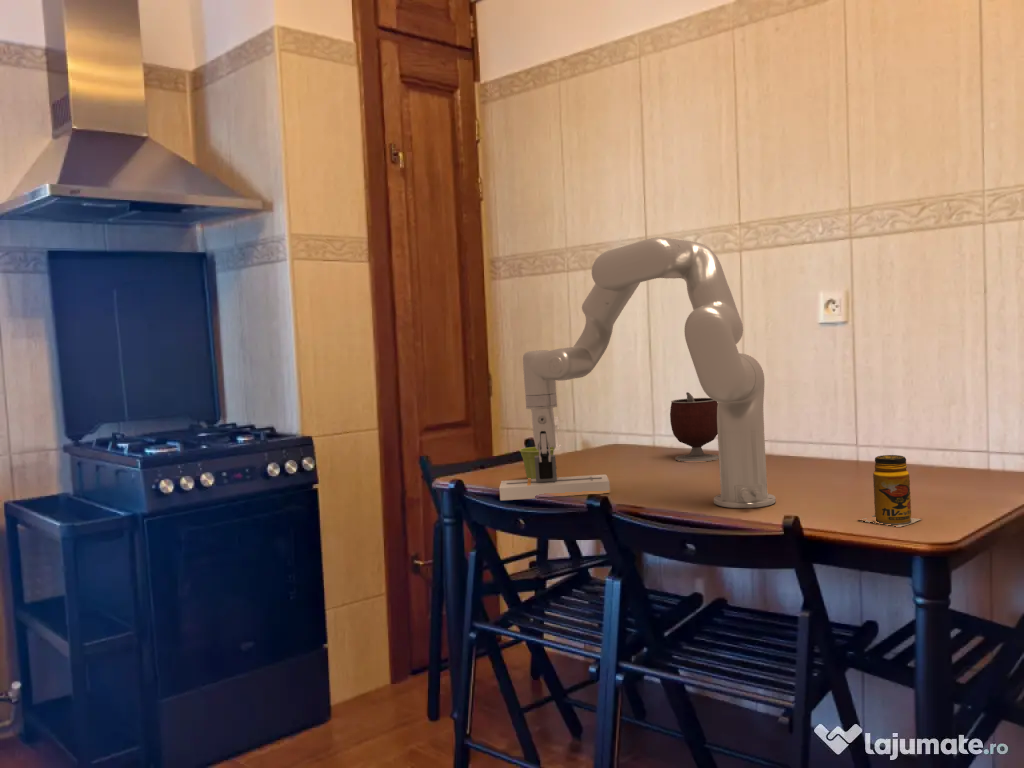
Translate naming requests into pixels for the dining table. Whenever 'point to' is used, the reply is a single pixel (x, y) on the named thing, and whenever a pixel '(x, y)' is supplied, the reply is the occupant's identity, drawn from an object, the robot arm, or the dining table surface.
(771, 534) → the dining table surface
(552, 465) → the fader
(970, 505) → the dining table surface
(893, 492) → the condiment
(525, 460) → the plant pot
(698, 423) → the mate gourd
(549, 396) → the robot arm
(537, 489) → the console
